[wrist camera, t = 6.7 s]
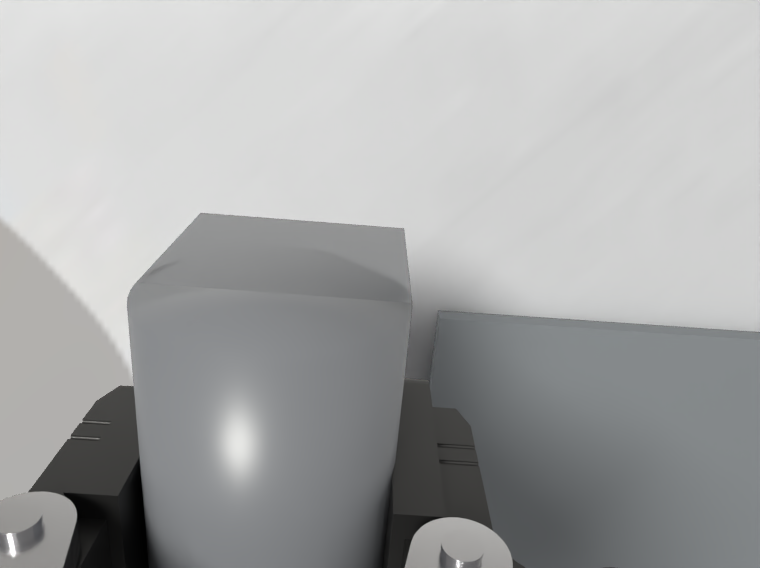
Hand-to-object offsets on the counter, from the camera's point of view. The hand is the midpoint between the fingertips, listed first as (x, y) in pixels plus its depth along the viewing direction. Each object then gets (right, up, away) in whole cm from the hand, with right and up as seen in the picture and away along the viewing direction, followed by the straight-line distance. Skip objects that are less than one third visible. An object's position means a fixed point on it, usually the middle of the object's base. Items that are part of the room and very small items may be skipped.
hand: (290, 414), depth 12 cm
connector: (0, 0, +1) cm, 1 cm away
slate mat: (+10, -5, +12) cm, 17 cm away
